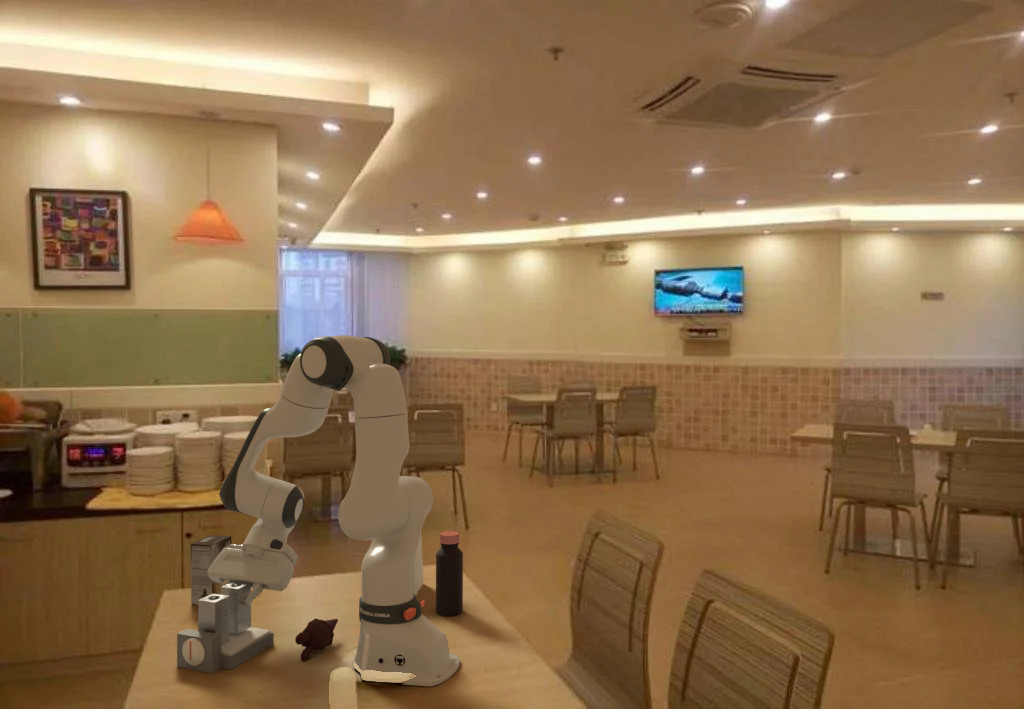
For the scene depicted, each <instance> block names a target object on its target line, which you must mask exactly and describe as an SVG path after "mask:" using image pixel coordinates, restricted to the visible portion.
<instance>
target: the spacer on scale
mask: <svg viewBox="0 0 1024 709" xmlns="http://www.w3.org/2000/svg"><path fill="white" fill-rule="evenodd" d="M197 607H198V609H197V610H198V611H197V614H198V615H197V616H198V617H197V619H198V620H197V622H198V624H197V625H198V628H197V631H203V632H209V633H215V634H221V646H222V645H224V644H226V643H228V642H229V596H227V595H220V594H211V595H208V596H206V597H204V598H202V599H200V600H198V605H197Z"/></svg>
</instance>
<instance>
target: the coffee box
mask: <svg viewBox="0 0 1024 709" xmlns="http://www.w3.org/2000/svg"><path fill="white" fill-rule="evenodd" d="M230 544H232V535H220V534H219V535H218V534H217V535H215V534H210V535H208V536H206V537H202V538H201V539H199V540H196V541H195V542H192V543H190V592H191V593H190V597H191V598H190V600H191V601H190V602H191V603H190V604H191V605H192V604H195V605H194V606H198V600H200V599H202V598H204V597H206V596H208V595H211V594H220V595H221V587H222V586H223V585H222V584H223V583H218V582H214V581H213V580H212V579H211V578H210V577H209V576H208V569H209V568H210V566H211V565H212V563H213V562H214V560H215V559H216V557H217V556H218V555H219V553H220V552H221V551H222V549H223V548H224V547H227V546H229V545H230ZM228 548H229V547H228Z"/></svg>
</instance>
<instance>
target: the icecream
mask: <svg viewBox="0 0 1024 709" xmlns="http://www.w3.org/2000/svg"><path fill="white" fill-rule="evenodd" d="M338 621H339V619H338V618H332V619H329V620H328V619H327V620H324V619H318V618H314V619H313V620H311V621H309V622H308V623H307V625H306V627H304V629H303V630H302V631H301V632H299V633H298V634H297V635H296V636H295V637H294V639H295V640H294V641H295V644H296V645H301V647H304V649H303V650H302V651H301V653H300V657H299V659H300V660H301V661H302V662H306V661H307V660H309V659H310V658H311V656H312V655H313V653H314V652H318V651H319V652H320V651H323V650H324V649H326V648H327V647H330V646H332V644H333V641H334V637H335V632H334V631H335V628H336V626H337V624H338Z"/></svg>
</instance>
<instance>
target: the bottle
mask: <svg viewBox="0 0 1024 709" xmlns="http://www.w3.org/2000/svg"><path fill="white" fill-rule="evenodd" d="M459 544H460V532H458V531H454V530H447V531H441V532H440V533H439V545H440V548H439V549H438V550H437V551H436V553H435V612H436V614H438V615H439V614H440V615H439V616H442V615H444V616H443V617H453V616H452V615H455V616H458V615H461V614H462V612H463V610H464V599H463V598H464V594H463V593H464V592H463V591H464V588H463V586H464V583H463V582H464V580H463V579H464V552H463V550H462V549H460V547H459ZM457 614H458V615H457Z"/></svg>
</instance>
